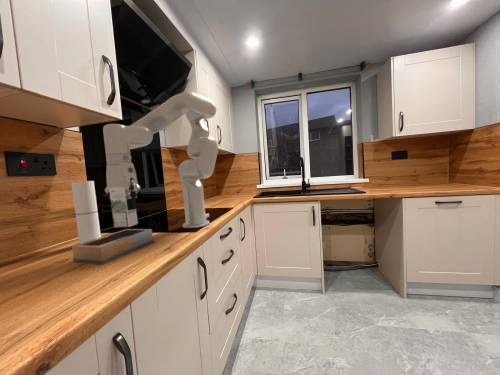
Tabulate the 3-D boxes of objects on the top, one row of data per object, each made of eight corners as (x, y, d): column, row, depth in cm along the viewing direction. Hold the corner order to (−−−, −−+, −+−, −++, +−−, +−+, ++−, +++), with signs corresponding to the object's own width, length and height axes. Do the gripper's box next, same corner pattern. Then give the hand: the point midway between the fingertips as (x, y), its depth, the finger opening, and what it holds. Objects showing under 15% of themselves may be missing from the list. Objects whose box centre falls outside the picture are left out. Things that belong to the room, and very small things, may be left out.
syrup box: (138, 223, 83) (134, 185, 82) (128, 227, 77) (123, 186, 76) (124, 224, 84) (119, 186, 83) (113, 228, 78) (108, 187, 77)
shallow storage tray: (127, 241, 88) (126, 229, 88) (153, 242, 84) (152, 229, 83) (73, 261, 69) (71, 246, 69) (103, 264, 65) (101, 247, 65)
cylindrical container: (75, 247, 85) (66, 182, 84) (85, 242, 92) (77, 182, 91) (96, 245, 87) (88, 181, 85) (104, 239, 94) (97, 180, 92)
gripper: (146, 158, 80) (151, 207, 81) (110, 162, 86) (116, 208, 87) (128, 157, 73) (134, 211, 74) (91, 162, 78) (97, 212, 80)
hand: (124, 209), depth 80 cm, fingers closed on syrup box, 6 cm apart
